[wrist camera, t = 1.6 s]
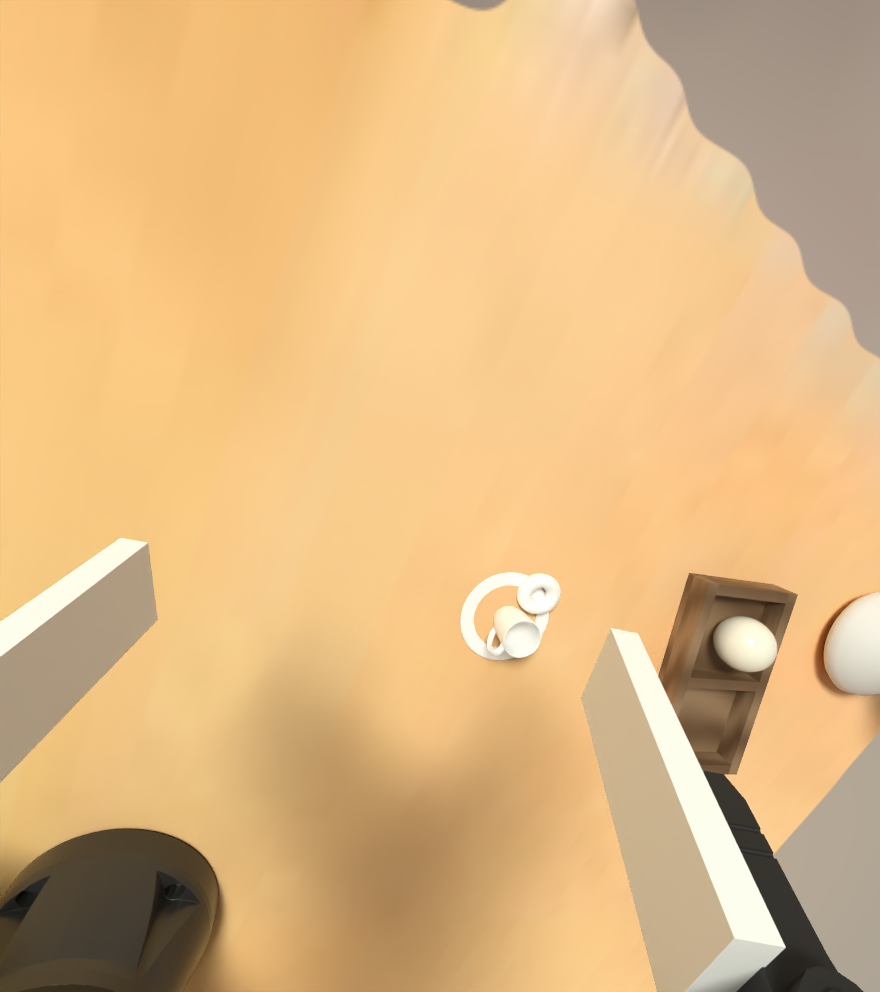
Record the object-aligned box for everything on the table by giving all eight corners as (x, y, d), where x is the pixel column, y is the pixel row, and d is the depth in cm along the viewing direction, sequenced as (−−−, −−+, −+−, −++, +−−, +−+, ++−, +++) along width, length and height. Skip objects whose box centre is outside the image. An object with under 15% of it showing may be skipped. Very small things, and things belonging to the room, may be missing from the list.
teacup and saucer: (548, 557, 38) (572, 574, 35) (560, 638, 40) (584, 664, 36) (450, 585, 37) (463, 606, 33) (468, 668, 39) (482, 698, 35)
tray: (716, 756, 47) (736, 774, 44) (635, 754, 44) (651, 774, 42) (773, 584, 44) (797, 594, 42) (689, 573, 41) (709, 583, 39)
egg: (735, 655, 44) (781, 685, 39) (694, 652, 43) (737, 682, 38) (749, 609, 43) (798, 634, 38) (709, 604, 42) (754, 629, 37)
